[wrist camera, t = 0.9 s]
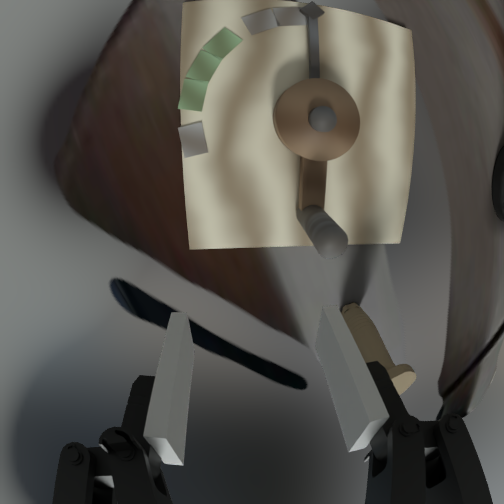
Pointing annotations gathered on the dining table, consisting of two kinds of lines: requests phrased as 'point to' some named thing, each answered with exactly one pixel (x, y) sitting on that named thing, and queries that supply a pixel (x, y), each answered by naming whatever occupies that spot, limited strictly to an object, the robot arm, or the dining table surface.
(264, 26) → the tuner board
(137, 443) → the robot arm
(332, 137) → the brown handled round piece
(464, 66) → the dining table surface
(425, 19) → the dining table surface
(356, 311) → the handle
